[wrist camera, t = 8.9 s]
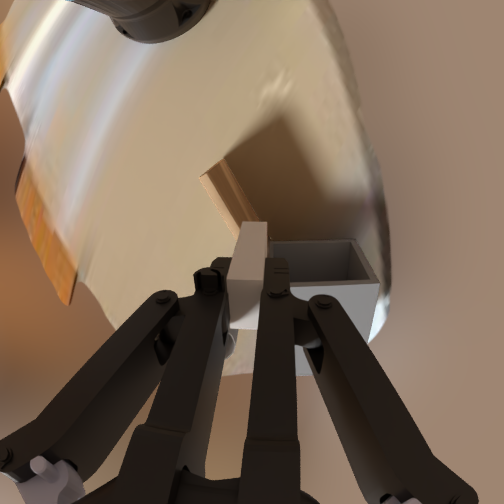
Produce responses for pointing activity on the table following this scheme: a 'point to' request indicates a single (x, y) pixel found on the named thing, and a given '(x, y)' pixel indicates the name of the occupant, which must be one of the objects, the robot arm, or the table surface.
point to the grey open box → (330, 280)
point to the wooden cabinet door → (229, 198)
